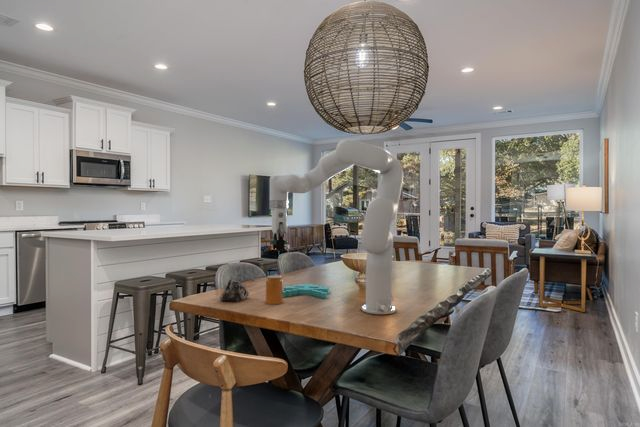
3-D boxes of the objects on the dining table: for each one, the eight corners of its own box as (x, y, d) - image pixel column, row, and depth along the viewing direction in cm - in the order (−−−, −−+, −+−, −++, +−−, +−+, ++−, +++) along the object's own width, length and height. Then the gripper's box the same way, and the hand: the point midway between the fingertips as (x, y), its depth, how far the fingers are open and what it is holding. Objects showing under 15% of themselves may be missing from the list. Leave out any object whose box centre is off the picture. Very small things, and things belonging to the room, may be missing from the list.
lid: (269, 244, 163) (269, 240, 163) (270, 243, 170) (270, 239, 170) (287, 244, 164) (287, 240, 164) (287, 243, 171) (287, 239, 171)
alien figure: (326, 298, 173) (329, 289, 193) (326, 293, 173) (330, 284, 193) (279, 297, 175) (287, 288, 195) (279, 291, 175) (288, 283, 195)
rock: (239, 308, 161) (252, 285, 166) (218, 296, 161) (231, 274, 166) (238, 313, 173) (250, 292, 177) (218, 302, 173) (230, 282, 177)
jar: (284, 303, 163) (284, 277, 163) (267, 304, 161) (267, 278, 161) (280, 300, 169) (280, 275, 169) (264, 301, 167) (264, 275, 167)
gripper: (292, 205, 160) (292, 251, 160) (283, 205, 176) (283, 247, 176) (273, 205, 157) (273, 251, 158) (266, 205, 174) (266, 247, 174)
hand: (278, 248), depth 167 cm, fingers closed on lid, 6 cm apart
